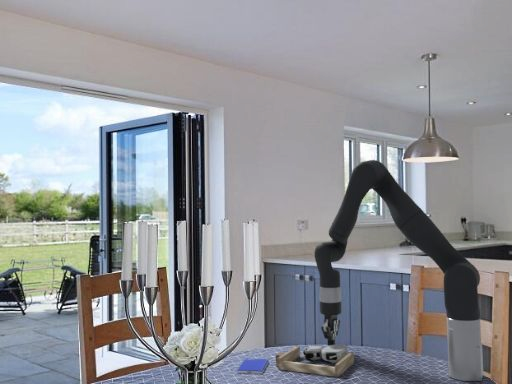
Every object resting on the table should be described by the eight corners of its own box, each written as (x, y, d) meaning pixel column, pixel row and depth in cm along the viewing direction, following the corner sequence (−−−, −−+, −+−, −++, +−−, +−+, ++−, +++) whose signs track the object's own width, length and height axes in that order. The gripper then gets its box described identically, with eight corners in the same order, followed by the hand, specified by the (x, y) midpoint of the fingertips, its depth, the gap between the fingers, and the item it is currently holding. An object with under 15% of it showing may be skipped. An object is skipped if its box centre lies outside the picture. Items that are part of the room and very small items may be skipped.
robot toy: (299, 366, 174) (344, 366, 169) (297, 352, 175) (342, 352, 169) (309, 356, 186) (351, 356, 181) (307, 343, 186) (350, 342, 181)
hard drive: (244, 358, 178) (236, 369, 166) (268, 359, 177) (262, 370, 165) (244, 363, 178) (236, 374, 166) (268, 363, 177) (262, 375, 165)
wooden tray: (354, 362, 173) (353, 352, 173) (338, 376, 160) (338, 365, 160) (291, 355, 184) (291, 345, 184) (272, 368, 170) (271, 357, 170)
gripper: (334, 303, 177) (335, 356, 177) (346, 297, 189) (348, 346, 189) (313, 302, 181) (314, 353, 181) (326, 295, 193) (328, 344, 192)
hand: (331, 349), depth 185 cm, fingers closed
